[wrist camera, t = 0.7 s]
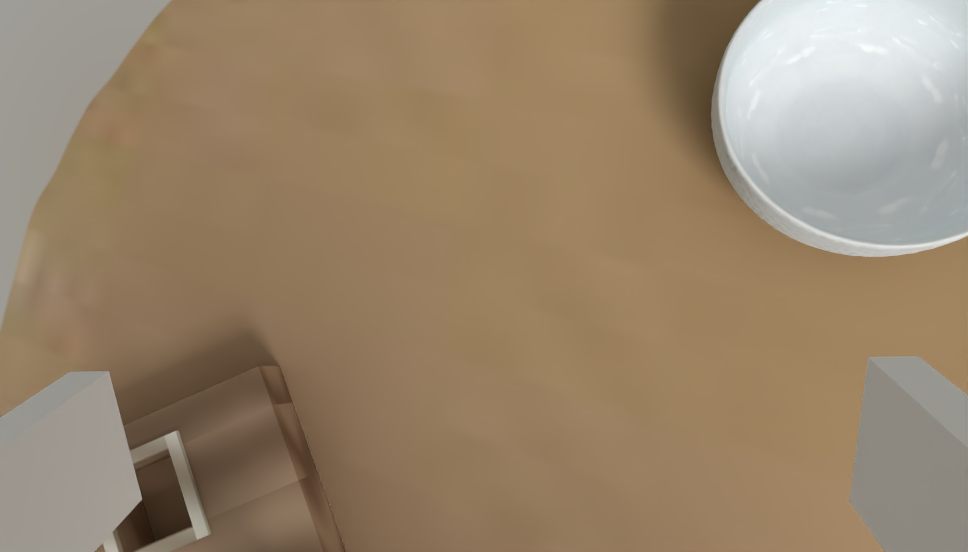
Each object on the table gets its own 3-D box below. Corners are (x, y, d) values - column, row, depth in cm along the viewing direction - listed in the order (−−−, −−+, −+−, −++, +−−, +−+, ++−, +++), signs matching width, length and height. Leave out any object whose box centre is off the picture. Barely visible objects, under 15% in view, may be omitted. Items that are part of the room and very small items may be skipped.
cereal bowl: (950, -5, 42) (1026, -80, 35) (1008, 252, 39) (1103, 228, 32) (676, 37, 43) (696, -25, 36) (714, 285, 41) (744, 269, 34)
